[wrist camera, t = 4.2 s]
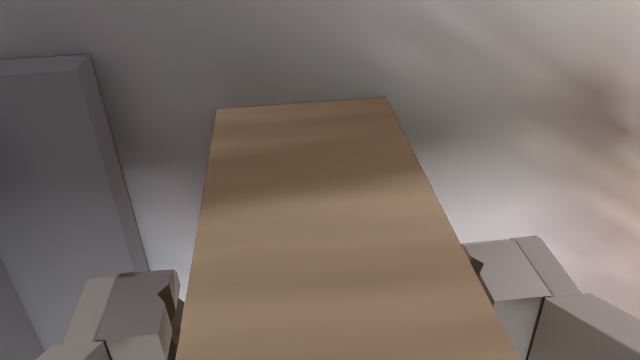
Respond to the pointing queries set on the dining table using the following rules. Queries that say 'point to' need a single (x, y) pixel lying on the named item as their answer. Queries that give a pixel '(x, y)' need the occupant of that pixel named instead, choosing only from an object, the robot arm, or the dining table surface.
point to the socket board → (56, 200)
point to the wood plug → (328, 245)
